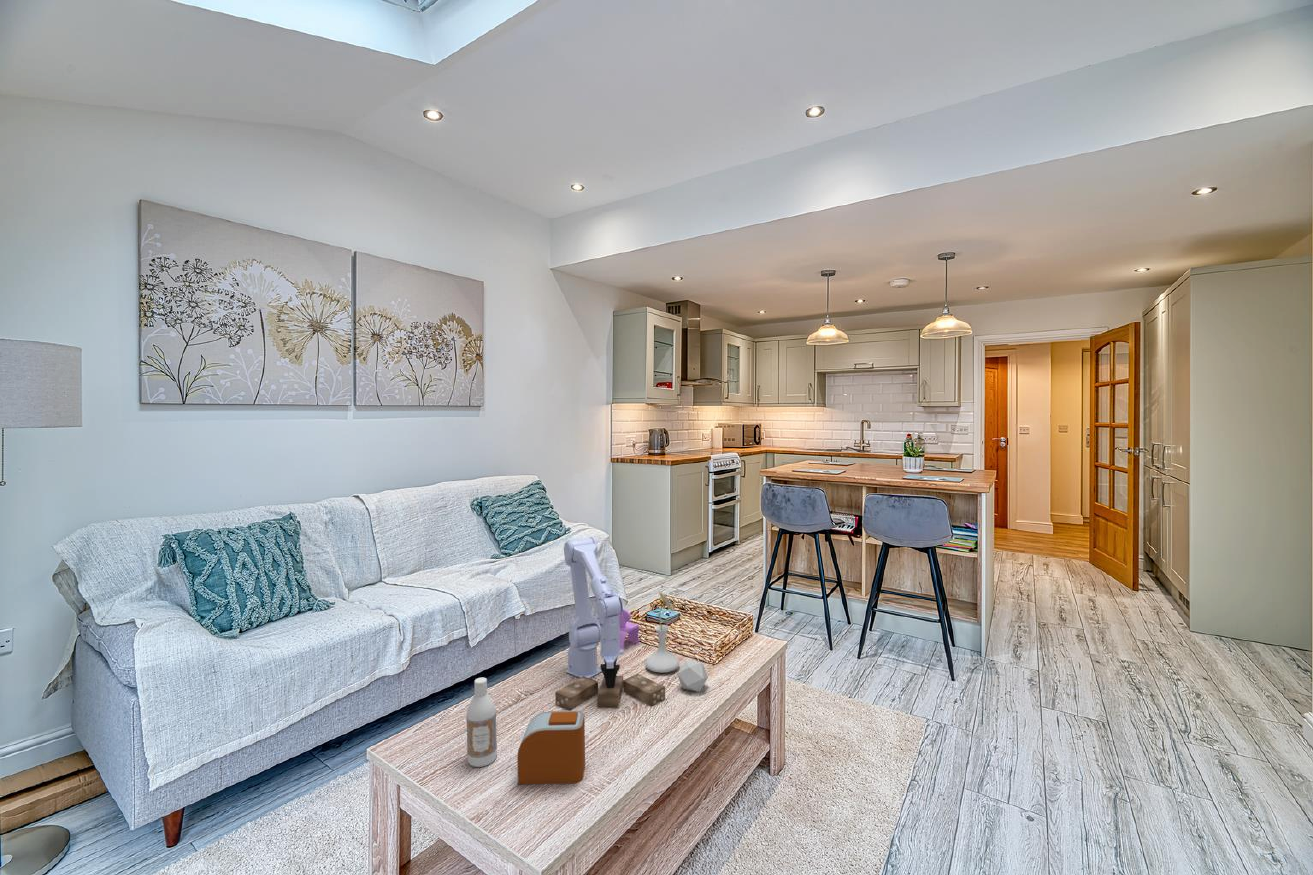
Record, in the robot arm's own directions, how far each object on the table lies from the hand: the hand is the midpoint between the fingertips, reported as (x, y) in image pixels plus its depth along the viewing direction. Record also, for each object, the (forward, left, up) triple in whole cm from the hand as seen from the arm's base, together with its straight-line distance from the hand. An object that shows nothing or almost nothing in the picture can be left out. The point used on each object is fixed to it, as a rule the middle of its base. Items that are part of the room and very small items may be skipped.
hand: (610, 681), depth 164 cm
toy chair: (-20, +31, -5) cm, 37 cm away
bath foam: (-6, -41, -5) cm, 42 cm away
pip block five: (+7, +7, -5) cm, 11 cm away
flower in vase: (+1, +25, -5) cm, 26 cm away
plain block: (0, 0, -5) cm, 5 cm away
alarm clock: (+12, -34, -5) cm, 36 cm away
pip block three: (-8, -7, -5) cm, 11 cm away
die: (+17, +19, -5) cm, 26 cm away
